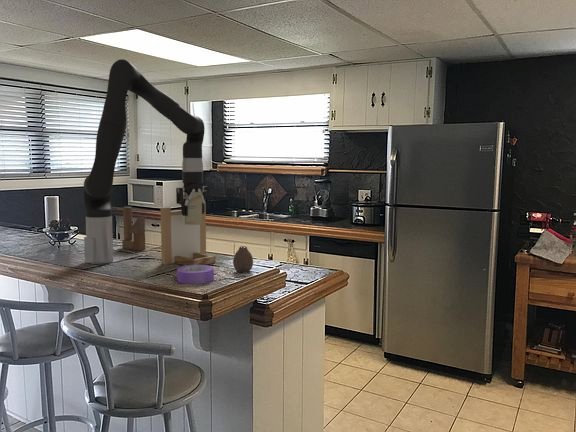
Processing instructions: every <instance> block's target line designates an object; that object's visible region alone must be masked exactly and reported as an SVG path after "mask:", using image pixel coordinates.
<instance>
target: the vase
mask: <svg viewBox="0 0 576 432" xmlns="http://www.w3.org/2000/svg"><path fill="white" fill-rule="evenodd" d="M232 264H233V267H234V270H235V271H236V273H239V272H247V273H250V271H251V270H253V269H252V268H253V265H254V258H253V255H252V253H251V252H250V250H249V248H248V247H247V246H243V245H242V246H241V245H240V246H239V248H238V250H237V251H236V252H235V253H234V256H233V258H232Z"/></svg>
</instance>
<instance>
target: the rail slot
mask: <svg viewBox="0 0 576 432" xmlns="http://www.w3.org/2000/svg"><path fill="white" fill-rule="evenodd" d="M174 262H175V263H174V264H178V265H182V266H188V265H210V264H211V265H212V264H215V263H216V255H213V254H207V253H206V254H201V253H193V259H191V258H186V257H181V256H174Z"/></svg>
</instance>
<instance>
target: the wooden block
mask: <svg viewBox="0 0 576 432" xmlns="http://www.w3.org/2000/svg"><path fill="white" fill-rule="evenodd" d="M122 208H123V209H122V211H123V215H122V216H123V239H122V242H121V243H122V246H121V247H122V249H125V248H126V250H133V251H145V250H146V234H145V233H146V219H145V218H146V217H145V216H142V217H140V216H139V217H137V219H136V220H135V221H134V223H133V207H132V206H123V207H122Z"/></svg>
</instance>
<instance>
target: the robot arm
mask: <svg viewBox="0 0 576 432" xmlns="http://www.w3.org/2000/svg"><path fill="white" fill-rule="evenodd" d="M128 91H129V92H131V93H133V94H135V95H137V96H139V97H141V98H142V99H143V100H144V101H146V102H147V103H148V104H149V105H150V107H152V108H153V109H154V110H156V112H158V113H159V114H161V115H163V117H164V118H166V119H167V120H169V121H170V122H171V123H172V124H173V125H174V126H175V127H176V128H177V129H178V130H179V131H181V132H182V133H183V134H185V135H186V141H185V142H183V144H182V164H181V166H182V168H181V170H182V173H181V174H182V175H181V176H182V183H183V187H178V186H177V187H176V188H175V191H176V192H175V196H176V198H175V200H176V204H178V205H180V207H181V210H182V215H183V216H188V206H187V204H188V202H189V201H190V200H191V198H192V196H193V194H194V192H202V214H204V212H205V204H206V203H209V202H210V186H207V185H203V183H204V163H203V162H204V161H203V143H204V138H205V132H206V131H205V129H206V128H205V122H204V121H203V119H202V118H201V117H200V116H198V115H197V116H196V115H192V114H191V113H190V112H188V111H186V110H185V108H184V107H183V106H182V105H181V103H180V102H178V101H176V100H175V99H174V98H173V97H171V96H170V95H168V94H167V93H165V92H164V91H162V90H161V89H159V88H158V87H156V86H155V85H153V84H152V83H151V82H150V81H149V80H148V79H147V78H146V77H145V76H144V75H143V74H142V73H141V72H140V71H139V69H138V68H137V67H136V66H135V65H134V64H132V63H131V61H128V60H126V59H121V58H120V59H117V60H116V61H115V62H114V63H113V64H112V65H111V67H110V69H109V74H108V83H107V89H106V95H105V100H104V103H103V108H102V113H101V116H100V120H99V124H98V129H97V133H96V140H95V155H94V161H93V164H92V167H91V170H90V173H89V175H87V176H86V178H85V179H84V181H83V200H84V202H83V203H84V212H85V236H84V237H83V242H84V245H83V247H84V248H83V249H84V262H85V263H86V264H90V265H97V264H100V265H101V264H102V265H103V264H108V263H112V262H114V236H113V235H114V234H113V230H114V229H113V209H112V205H111V204H112V203H111V193H112V190H113V183H114V177H115V176H114V175H115V169H116V163H117V159H118V157H119V155H120V151H121V148H122V144H123V141H124V137H125V133H126V129H127V123H128V121H127V120H128V119H127V109H126V108H127V106H126V101H127V95H128ZM185 192H186V193H187V194H188V197H185Z"/></svg>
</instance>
